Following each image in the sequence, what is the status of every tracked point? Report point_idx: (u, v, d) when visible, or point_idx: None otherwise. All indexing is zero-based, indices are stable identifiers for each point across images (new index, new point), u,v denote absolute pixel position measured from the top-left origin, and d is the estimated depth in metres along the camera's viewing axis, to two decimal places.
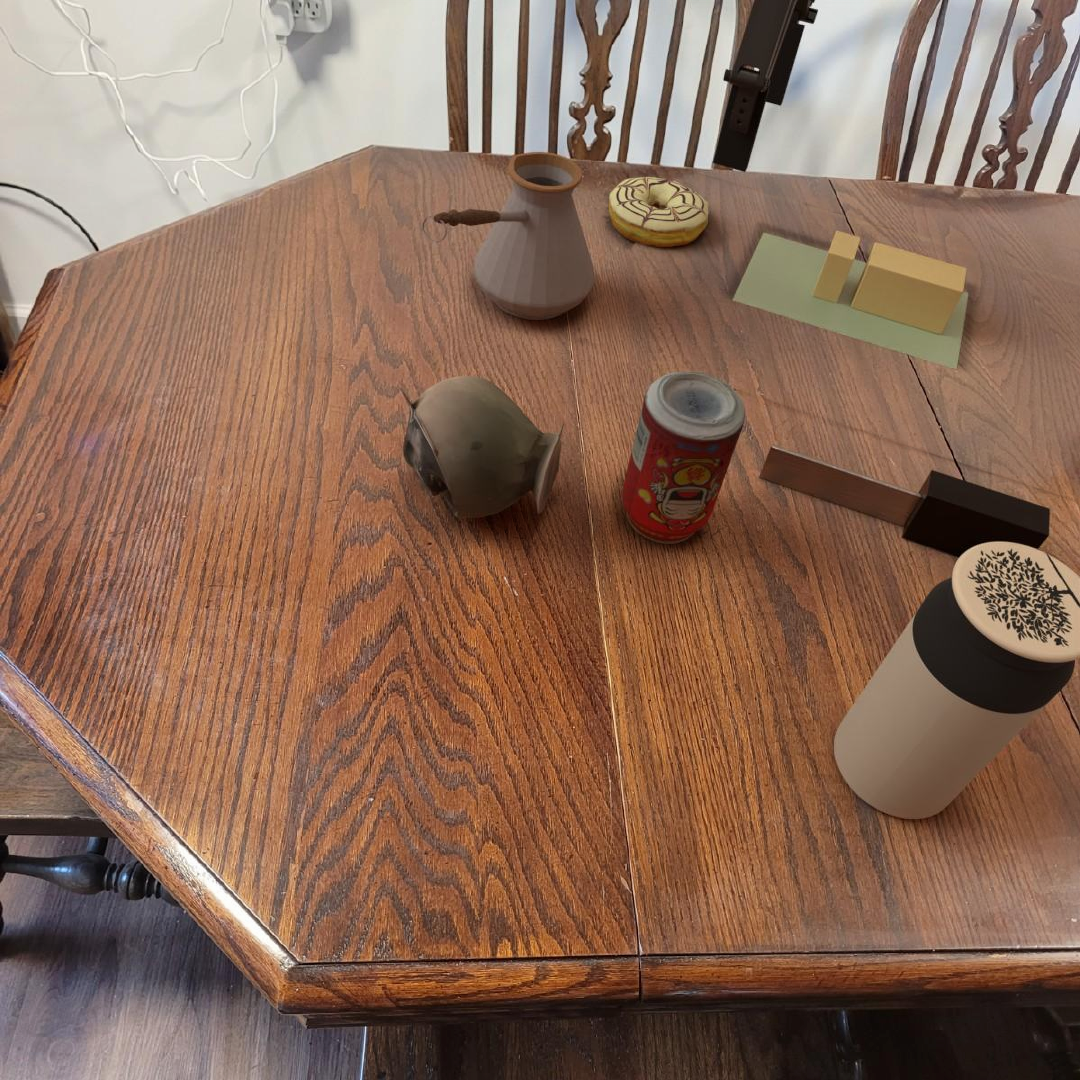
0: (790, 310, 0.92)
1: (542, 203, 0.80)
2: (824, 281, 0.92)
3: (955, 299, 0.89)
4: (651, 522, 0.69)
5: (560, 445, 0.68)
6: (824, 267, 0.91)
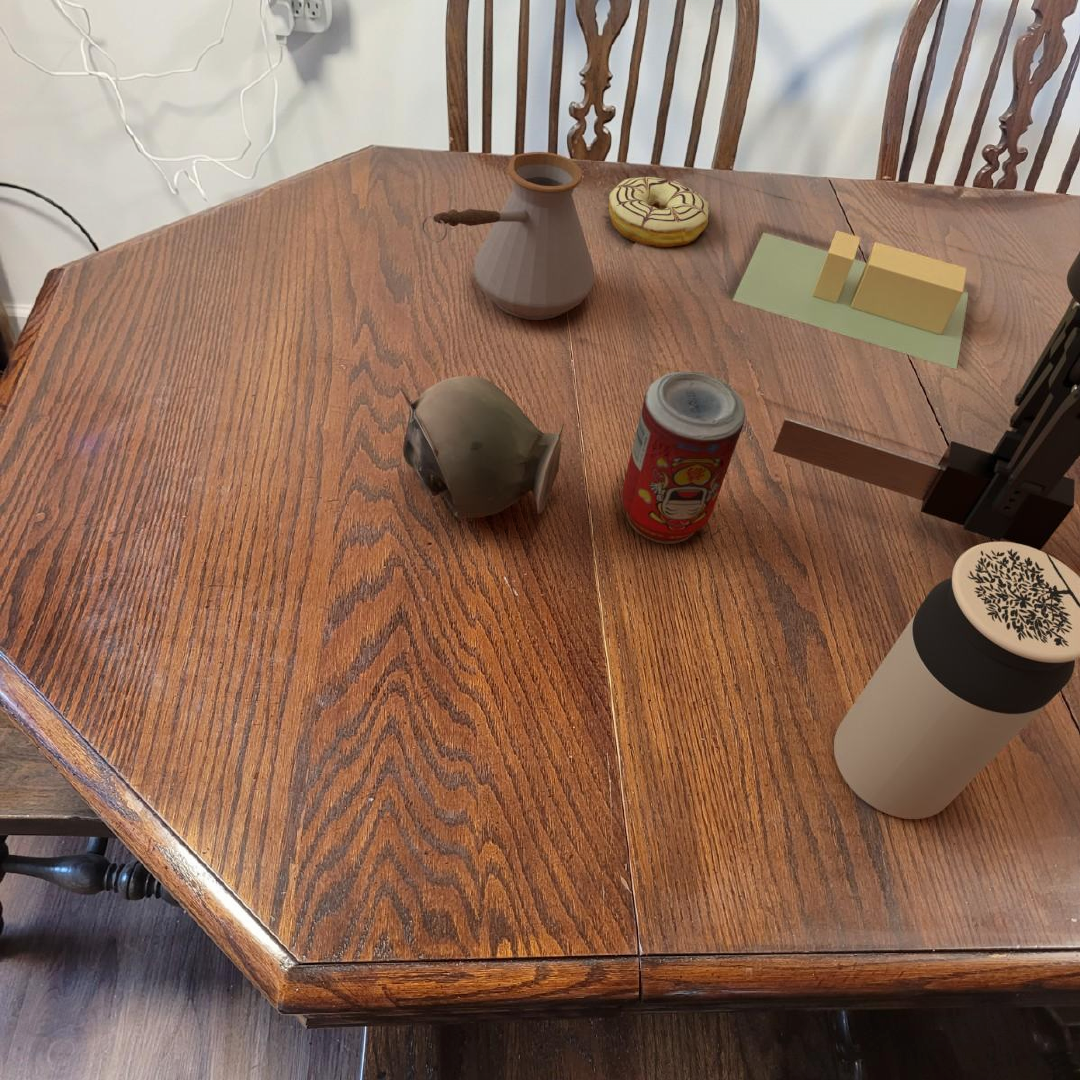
0: (790, 310, 0.92)
1: (542, 203, 0.80)
2: (824, 281, 0.92)
3: (955, 299, 0.89)
4: (651, 522, 0.69)
5: (560, 445, 0.68)
6: (824, 267, 0.91)
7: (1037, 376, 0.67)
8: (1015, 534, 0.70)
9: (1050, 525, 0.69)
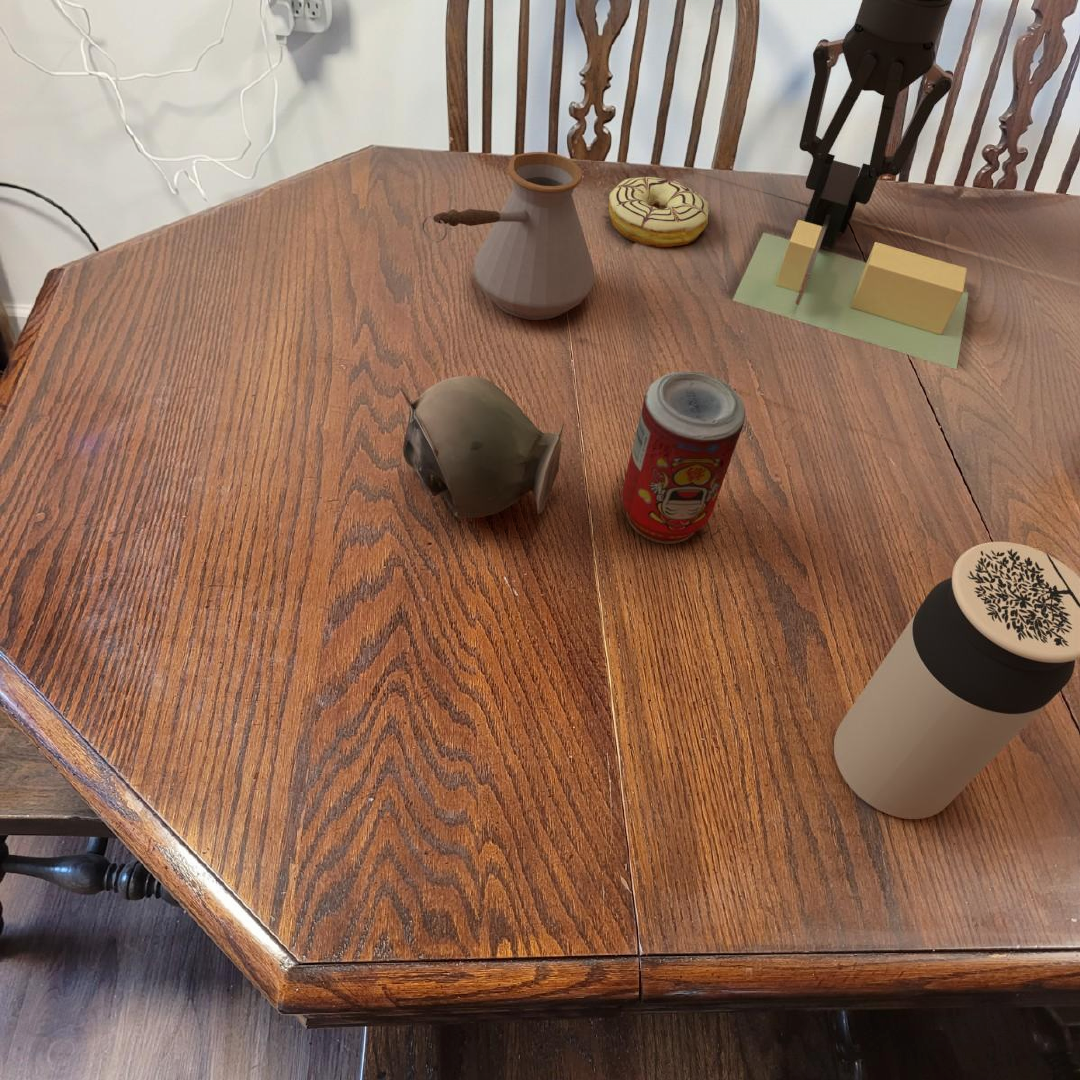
0: (790, 310, 0.92)
1: (542, 203, 0.80)
2: (786, 270, 0.93)
3: (955, 299, 0.89)
4: (651, 522, 0.69)
5: (560, 445, 0.68)
6: (786, 256, 0.92)
7: (817, 122, 0.94)
8: None
9: None
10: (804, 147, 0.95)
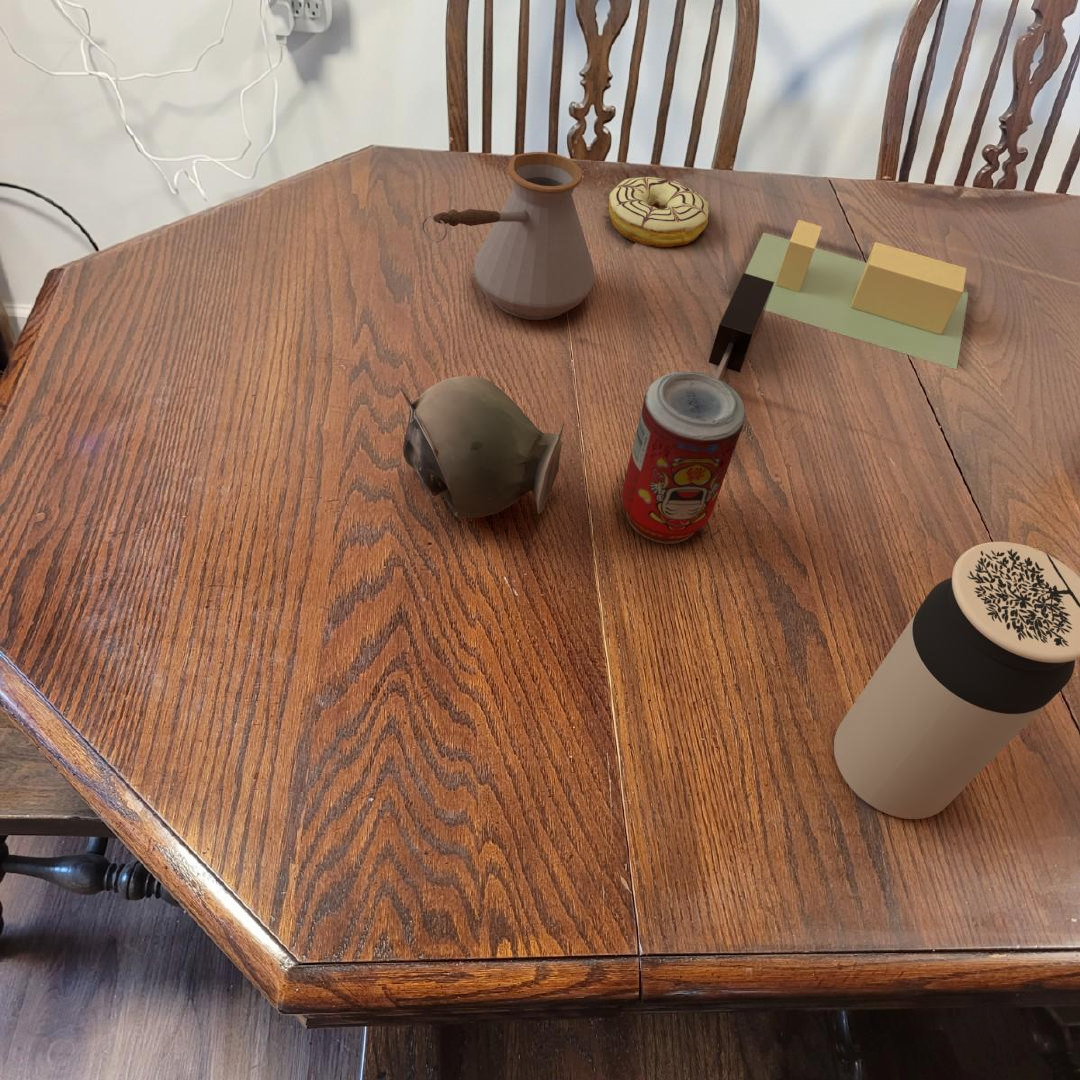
0: (790, 310, 0.92)
1: (542, 203, 0.80)
2: (786, 270, 0.93)
3: (955, 299, 0.89)
4: (651, 522, 0.69)
5: (560, 445, 0.68)
6: (786, 256, 0.92)
7: None
8: None
9: (766, 305, 0.89)
10: None
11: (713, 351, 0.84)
